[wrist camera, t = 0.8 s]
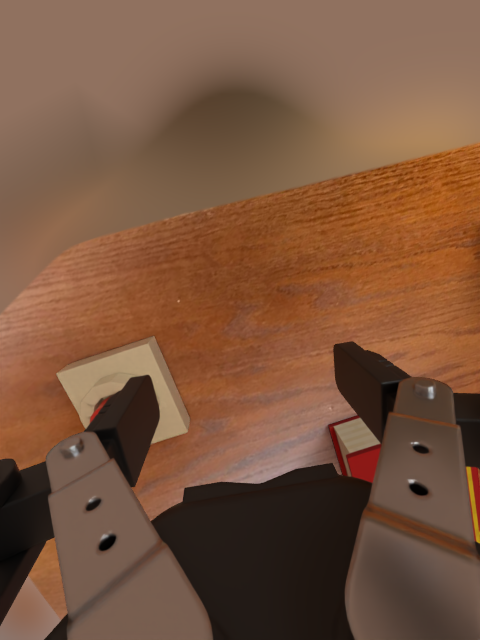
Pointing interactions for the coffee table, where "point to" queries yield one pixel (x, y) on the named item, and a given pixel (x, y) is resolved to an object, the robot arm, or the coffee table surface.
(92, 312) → the coffee table surface
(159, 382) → the block
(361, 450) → the book
